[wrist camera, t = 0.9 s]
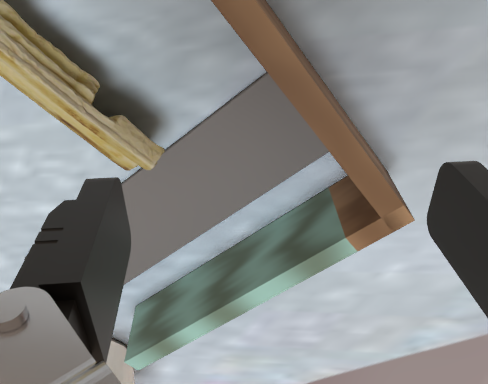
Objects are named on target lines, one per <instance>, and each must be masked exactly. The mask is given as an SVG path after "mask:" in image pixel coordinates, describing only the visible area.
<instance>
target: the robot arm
mask: <svg viewBox="0 0 488 384" xmlns="http://www.w3.org/2000/svg"><path fill="white" fill-rule="evenodd" d="M427 226H428V230H429V233H430V236H431V237H432V239H433V240H434V242H435V243H436V245H437V246H438V247H439V249H440V250H441V252H442V253H443V255H444V256H445V257H446V259H447V260H448V262H449V263H450V265H451V266H452V268H453V269H454V270H455V272H456V273H457V275H458V276H459V278H460V279H461V280H462V282H463V283H464V285H465V286H466V288H467V289H468V290H469V292H470V293H471V295H472V296H473V298H474V299H475V300H476V302H477V303H478V305H479V306H480V308H481V309H482V311H483V312H484V313H485V315H486V316H487V318H488V170H487V169H486V168H485V167H484V166H483V165H482V164H481V163H479V162H477V161H464V162H446V163H444V164H443V165H442V166H441V167H440V169H439V172H438V176H437V180H436V183H435V187H434V191H433V195H432V198H431V202H430V206H429V209H428V214H427ZM130 252H131V231H130V225H129V220H128V215H127V210H126V205H125V200H124V195H123V189H122V185H121V182H120V179H119V178H97V179H86V180H85V182H84V184H83V186H82V188H81V190H80V193H79V195H78V197H77V199H76V200H65V201H63V202H62V203H61V204H60V205H59V206H58V207H56V208H55V209H54V210H53V211H52V212H50V213H49V215H48V216H47V218H46V220H45V222H44V224H43V226H42V228H41V232H39V234H38V236H37V238H36V240H35V244H33V245H32V247H31V249H30V251H29V253H28V255H27V257H26V259H25V261H24V263H23V265H22V267H21V268H20V270H19V272H18V274H17V276H16V278H15V280H14V282H13V284H12V286H11V288H10V290H6V291H4V292H1V293H0V384H121V383H120V381H119V380H118V379H117V377H116V376H115V374H114V373H113V372H112V370H111V369H110V367H109V366H108V365H107V364H106V362H107V357H108V353H109V348H110V344H111V339H112V334H113V330H114V325H115V321H116V316H117V312H118V307H119V303H120V298H121V294H122V289H123V284H124V280H125V275H126V271H127V266H128V262H129V257H130Z"/></svg>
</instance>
